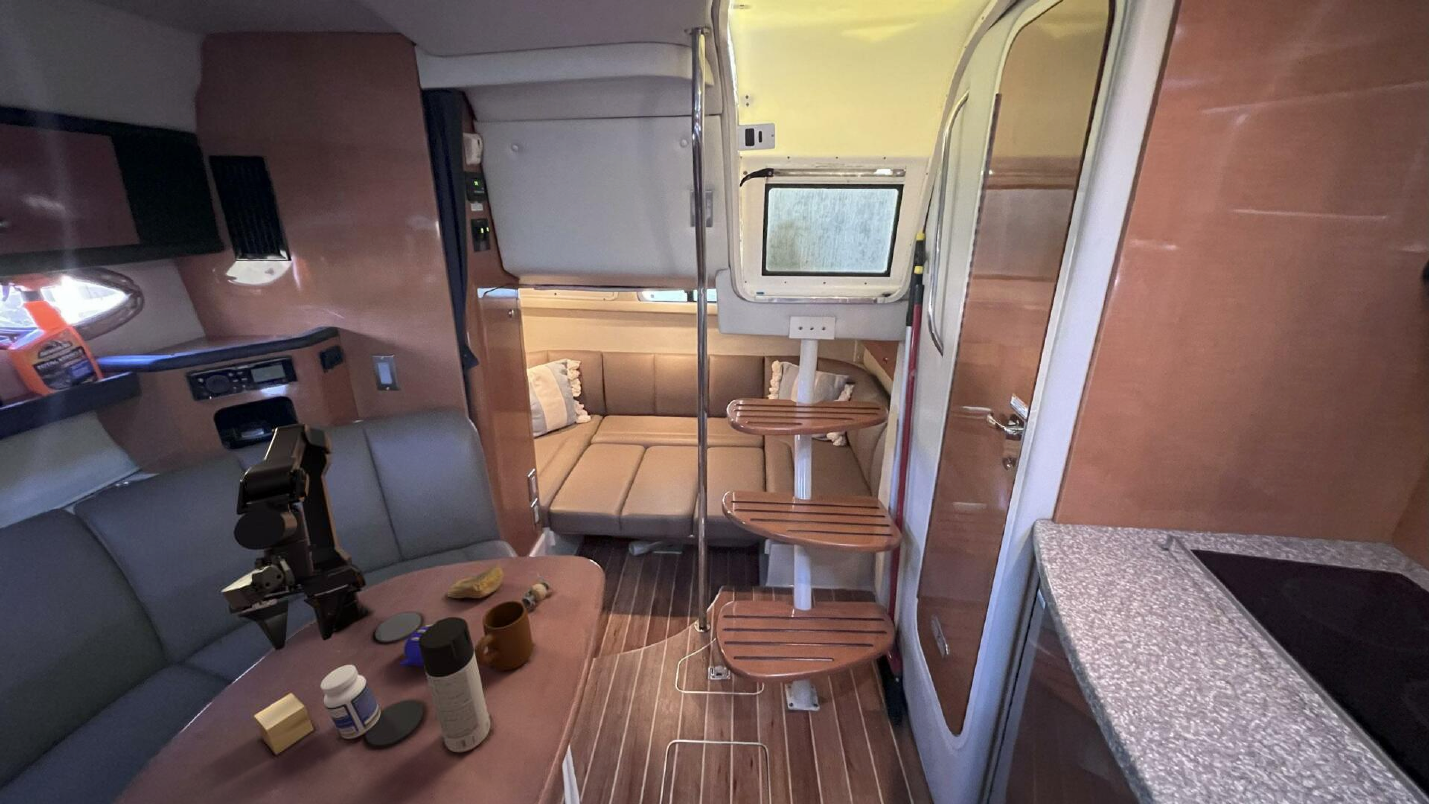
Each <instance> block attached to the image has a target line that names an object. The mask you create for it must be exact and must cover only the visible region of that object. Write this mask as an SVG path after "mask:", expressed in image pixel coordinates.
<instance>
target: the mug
mask: <svg viewBox="0 0 1429 804" xmlns="http://www.w3.org/2000/svg"><path fill="white" fill-rule="evenodd" d="M526 608H527V607H526V605H525V604H524V603H523V602H522V601H521V602H520V601H519V600H518V601H517V600H507V601H502V602H500V603H497V604H496V605H494V606H493V607H491V608H490V609H488V610H487V611H486V612H485V614H484V615H483V617H482V627H483V634H484V636H483V637H482V636H481V638H480V639H479V640H478V641H477V643H476V645H475V647H474V652H475V657H476V661H477V665H478V666H486V665H489V664H490V663H491V665H492V667H494V668H495V669H497V670H501V671H510V670H514V669H517V668H519V667H520V666H522V665H524V664H525V663H527V661H528V660H530V658H531V656H532V654H533V652H534V642H533V637H532V630H531V624H530V620H529V619H530V618H529V615H528V611H527V609H526ZM486 648H487V651H486V652H485V649H486Z"/></svg>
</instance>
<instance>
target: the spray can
mask: <svg viewBox="0 0 1429 804" xmlns="http://www.w3.org/2000/svg"><path fill="white" fill-rule="evenodd" d="M431 625H432V626H430V627H429V628H428V629H427V630H426V631H425V632H424V633H423V634H422V635H421V636H420V638H419V641H418V642H419V647H420V651H421V655H422V659H423V663H424V666H423V668H424V671H425V675H426V679H427V682H428V686H429V689H430V694H431V697H432V701H433V705H434V709H435V711H436V715H437V719H438V723H439V727H440V730H441V734H442V737H443V738H442V739H443V742H444V745H445V746H446V748H447V749H448V750H449V751H451V752H454V753H464V752H470V751H471V750H472V749H474V748H476V747H477V746H479V745H480V744H481V743H482V742H483V741H485V739H486V738H487V736H488V734H489V731H490V728H491V719H490V715H489V710H488V705H487V701H486V697H485V692H484V689H483V683H482V679H481V675H480V671H479V665H478V664H477V661H476V657H475V652H474V650H475V647H474V644H473V641H472V637H471V633H470V629H469V625H468V622H467V621H466V619H465V618H462V617H458V616H449V617H445V618H442V619H439V620H437V621H436V622H435V623H434V624H431Z"/></svg>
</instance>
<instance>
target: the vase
mask: <svg viewBox="0 0 1429 804" xmlns="http://www.w3.org/2000/svg"><path fill="white" fill-rule="evenodd" d="M535 575H536V578H537V580H538V581H540V583H536V584H533V586H531V587H530V588H529V589H528V590H527V591H526V592H525V594H524V597H523V598H522V599H521V603H522V604H523V605H524V606H525V607H526V608H527V609H530V608H531V606H532V607H535V606H536V605H538V603H540V602H541V601H542V600H543V599H544V598H545V597H546V595H547V593H549V591H552V592H555V591H554V590H555V589H554V588H553V586H551V585H550V584H549V583H548V582H547V581H546V579H545V578H544V577H543V576H542V575H541V574H540V573H536V574H535ZM520 591H521V590H520Z"/></svg>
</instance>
